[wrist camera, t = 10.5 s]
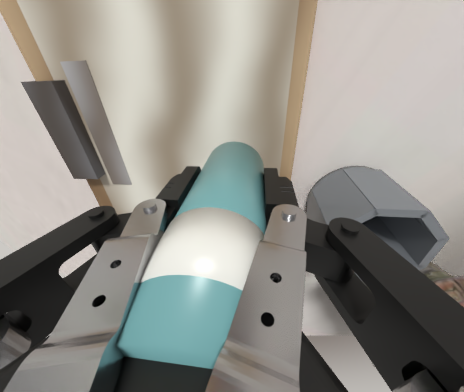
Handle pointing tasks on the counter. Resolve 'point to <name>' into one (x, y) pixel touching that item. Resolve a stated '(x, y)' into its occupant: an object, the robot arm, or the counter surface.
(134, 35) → the clipboard
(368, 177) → the pen cup
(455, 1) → the counter surface
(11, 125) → the counter surface
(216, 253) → the teal rounded cylinder
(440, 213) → the counter surface
